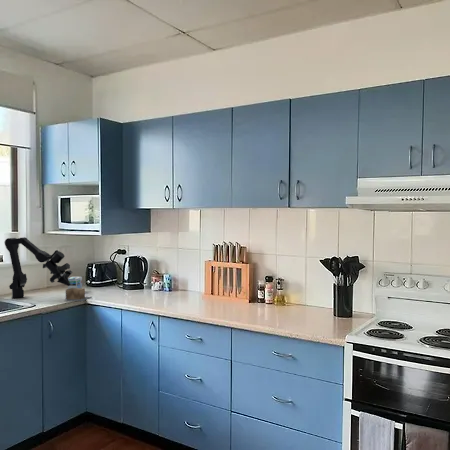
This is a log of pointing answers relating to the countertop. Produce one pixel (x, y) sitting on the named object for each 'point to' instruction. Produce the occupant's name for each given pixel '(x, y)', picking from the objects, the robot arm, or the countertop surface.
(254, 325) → the countertop surface
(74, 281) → the light bulb box
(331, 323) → the countertop surface
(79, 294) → the walnut block
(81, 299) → the rubber mat
